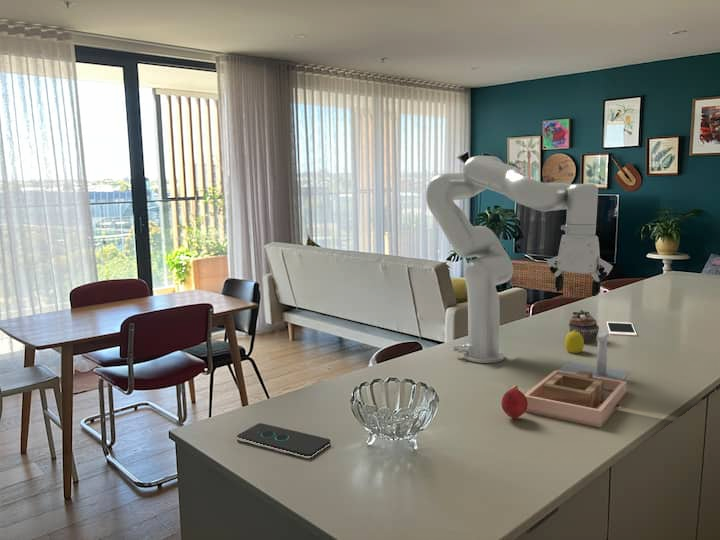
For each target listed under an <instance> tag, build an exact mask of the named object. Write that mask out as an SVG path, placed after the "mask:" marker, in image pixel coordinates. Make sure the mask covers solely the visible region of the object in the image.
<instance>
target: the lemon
mask: <svg viewBox="0 0 720 540" xmlns="http://www.w3.org/2000/svg"><path fill="white" fill-rule="evenodd" d="M564 346H565V349H566V351H567V352H569V353H571V354H579V353H581V352H582V350H584V346H585V343H584V340H583V337H582V335H581V334H580V333H579V332H576V330H573V331H572V332H570V331H569V332H568V333H567V334H566V336H565V339H564Z"/></svg>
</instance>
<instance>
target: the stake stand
mask: <svg viewBox="0 0 720 540" xmlns="http://www.w3.org/2000/svg"><path fill="white" fill-rule="evenodd" d="M609 336H610V335H609V332H607V331H602V332H600V333H598V335H597V337H596V342H597V350H596V351H597V356H596V357H597V358H596V359H597V360H596V365H590V364H584V363H578V362H572V361H568V362H567V363H566V364H564V365H563V366H562V367H561V368H559V369H558V370H559V371H565V372H571V373H578V372H579V371H580V370H584V371H590V372H593V376H596V377H602V378H608V379H614V380H620V381H625V379H626V378H627V376H628V375H629V374H630V373H631V371H629V370H625V369H624V370H623V369H616V368H610V367H608V366H607V364H608V363H607V360H608V338H609Z"/></svg>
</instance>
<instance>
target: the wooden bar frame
mask: <svg viewBox="0 0 720 540" xmlns="http://www.w3.org/2000/svg"><path fill="white" fill-rule="evenodd" d="M603 384H604V380H599V379H593V372H590V371H584V370H580V371H579V372H578V373H577V374H575V375H569V374H563V373H558V374H556V375H555V376H554V377H553V378H551V379H550V380H549V381H548V382H546V383H545V384H544V385H543V398H544V399H549V400H554V401H559V402H564V403H570V404H575V405H580V406H585V407H590V408H596V407H597V406H598V405H599V404H600V403H601V402H602V400H604V389H603Z"/></svg>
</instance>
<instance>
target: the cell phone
mask: <svg viewBox="0 0 720 540" xmlns="http://www.w3.org/2000/svg"><path fill="white" fill-rule="evenodd" d="M606 323H607V324H606V326H607V327H608V328H607V331H609V332H608V333H609V334H610V335H609V336H620V335H626V336H627V337H638V334H637V332H636V331H637V330H636V329H635V327H634V324H633V322H626V321H625V322H624V321H623V322H622V321H606Z"/></svg>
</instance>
